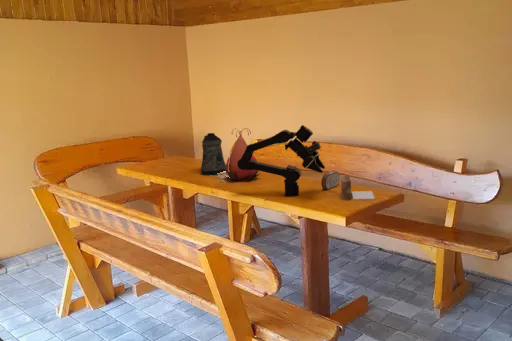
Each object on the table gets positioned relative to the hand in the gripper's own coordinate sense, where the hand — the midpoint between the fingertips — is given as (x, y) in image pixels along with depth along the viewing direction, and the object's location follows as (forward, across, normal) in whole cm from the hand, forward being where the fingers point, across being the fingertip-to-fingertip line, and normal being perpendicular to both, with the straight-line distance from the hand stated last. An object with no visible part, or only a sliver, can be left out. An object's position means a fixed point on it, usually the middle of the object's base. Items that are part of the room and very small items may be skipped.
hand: (323, 170), depth 236 cm
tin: (+10, +16, +9) cm, 21 cm away
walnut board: (+17, -1, +2) cm, 17 cm away
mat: (+23, 0, -3) cm, 23 cm away
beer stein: (-48, +49, +62) cm, 93 cm away
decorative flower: (-30, +32, +45) cm, 63 cm away
